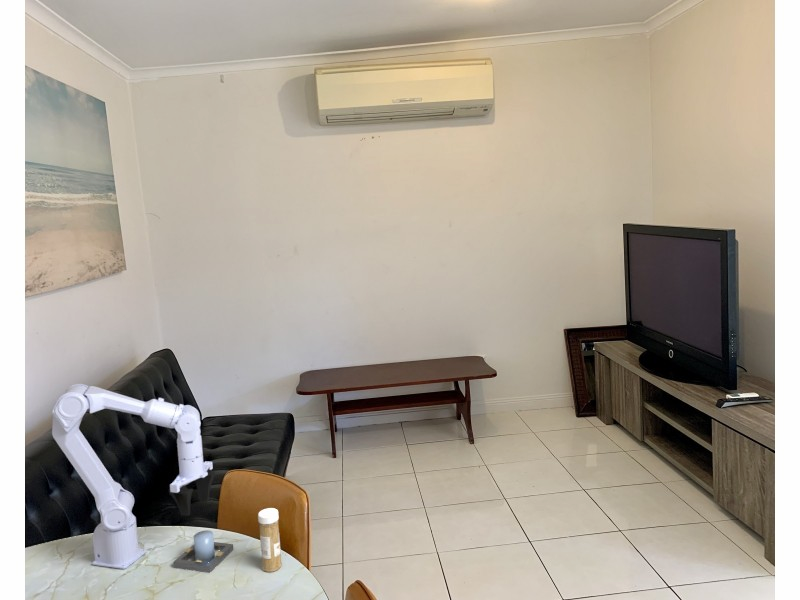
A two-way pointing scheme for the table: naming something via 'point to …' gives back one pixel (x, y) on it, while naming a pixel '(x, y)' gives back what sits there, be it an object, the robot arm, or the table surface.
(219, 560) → the collar
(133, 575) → the table surface
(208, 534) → the blue-grey rounded tapered piece
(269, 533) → the sprinkles bottle
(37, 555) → the table surface
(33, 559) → the table surface
